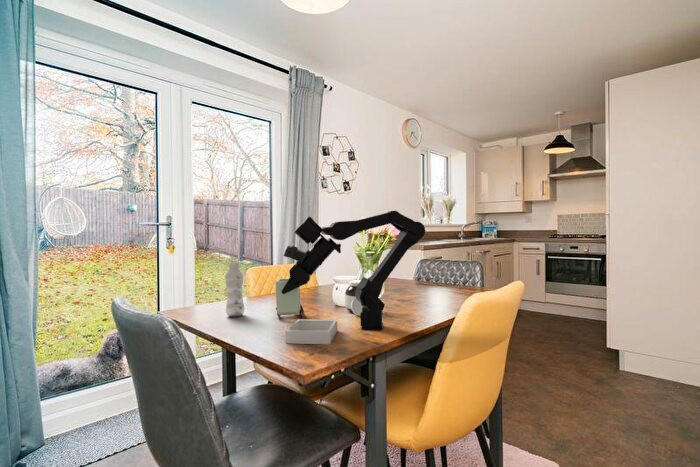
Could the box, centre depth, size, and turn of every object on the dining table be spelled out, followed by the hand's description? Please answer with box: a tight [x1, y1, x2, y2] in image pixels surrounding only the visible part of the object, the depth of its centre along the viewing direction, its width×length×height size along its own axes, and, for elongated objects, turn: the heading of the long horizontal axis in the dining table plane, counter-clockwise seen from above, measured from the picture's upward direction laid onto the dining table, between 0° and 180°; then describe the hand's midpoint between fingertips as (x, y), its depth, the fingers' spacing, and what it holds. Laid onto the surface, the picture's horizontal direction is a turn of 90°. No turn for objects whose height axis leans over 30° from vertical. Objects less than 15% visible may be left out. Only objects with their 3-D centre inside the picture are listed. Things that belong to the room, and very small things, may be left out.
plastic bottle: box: [224, 261, 245, 318], centre depth 132 cm, size 6×7×20 cm
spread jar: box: [344, 279, 363, 317], centre depth 135 cm, size 12×11×12 cm
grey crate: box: [285, 318, 338, 345], centre depth 105 cm, size 13×13×4 cm
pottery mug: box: [275, 303, 306, 319], centre depth 130 cm, size 12×10×8 cm
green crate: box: [275, 277, 302, 316], centre depth 110 cm, size 6×6×10 cm
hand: (283, 291), depth 110 cm, fingers closed on green crate, 6 cm apart
